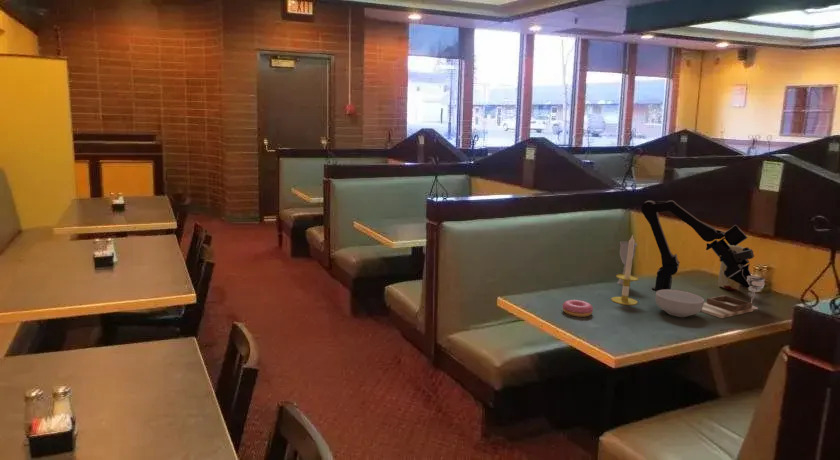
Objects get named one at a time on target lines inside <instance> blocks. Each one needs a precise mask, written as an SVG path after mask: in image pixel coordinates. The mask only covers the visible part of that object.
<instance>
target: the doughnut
mask: <svg viewBox="0 0 840 460" xmlns="http://www.w3.org/2000/svg"><path fill="white" fill-rule="evenodd" d="M562 311H563V312H564V313H565V314H566V315H568V316H570V317H571V316H572V317H577V318H586V317H589V316H591V315H592V314H593V311H594V307H593V305H592V304H591V303H589V302H588V301H584V300H582V299H581V300H580V299H579V300H578V299H567V300H565V301H564V302H563V303H562Z"/></svg>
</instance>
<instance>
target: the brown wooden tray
mask: <svg viewBox="0 0 840 460" xmlns="http://www.w3.org/2000/svg"><path fill="white" fill-rule="evenodd" d="M752 305H753V302H752V303H751V301H746V300H742V299H739V298H737V297H733V296H730V295H729V296H728V295H726V294H722V295H719V296H718V295H717V296H712V297H707V298H706V302H704V304H703V307H702V310H701V311H700V312H701V313H705V314H707V315H711V316H713V317H717V318H720V319H725V318H729V317H734V316H739V315H741V314H746V313H750V312H751V313H752V312H754V309H753V308H752Z"/></svg>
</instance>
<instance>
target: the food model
mask: <svg viewBox="0 0 840 460" xmlns="http://www.w3.org/2000/svg"><path fill="white" fill-rule="evenodd" d="M727 244H728V245H729V247H730V248H731V249H732V250H734V251H736V252H737V253H738V252H741V251H743V249H744V248H745V247H744V246H741V245H739V244H738V245H736V246H734V245H733V246H732V245H730V244H729V243H727ZM719 267H720V268H719V272H718V281H717V284H718V286H719V287H720V288H723V289H725V290H729V291H737V290H738V289H739V286H740V284H739V283H737V282H735V281H734V280H732V279H729V277H731V276H729V277H728V278H727V277H726V276H725V275H724V271H725V270H726V268H727V267H726V266H725V264H724V263H723V262H722V261H721V262H720V266H719Z"/></svg>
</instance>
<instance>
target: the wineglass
mask: <svg viewBox="0 0 840 460" xmlns="http://www.w3.org/2000/svg"><path fill="white" fill-rule="evenodd" d="M746 277H747V279H746V280H747V282H748V284H749V286H750V287H748V288H747V289H749V290H750V291H751V300H750V303H752V308H753V310H759V308H758V307H757V306H755V305H753V300H754V296H755V293H756V292H757V291H761V290H763V289H764V287H765V285H766V282H765V280H766V278H764V277H762V276H756V275H751V276H746Z"/></svg>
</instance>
